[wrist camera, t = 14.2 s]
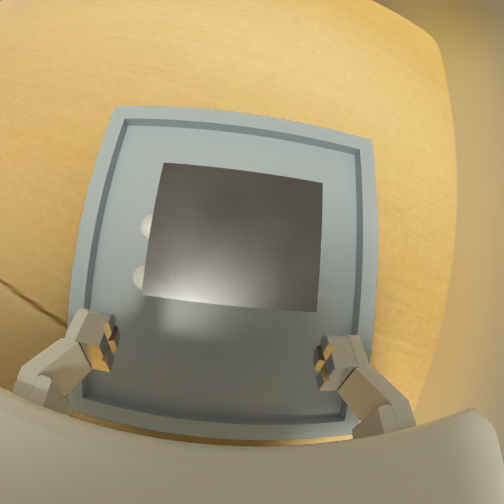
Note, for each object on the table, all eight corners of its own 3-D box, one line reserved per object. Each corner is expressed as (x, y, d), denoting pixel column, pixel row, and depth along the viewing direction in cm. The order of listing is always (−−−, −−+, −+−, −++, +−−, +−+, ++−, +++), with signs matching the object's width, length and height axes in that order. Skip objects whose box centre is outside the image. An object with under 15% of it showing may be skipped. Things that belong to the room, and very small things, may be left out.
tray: (82, 398, 16) (48, 423, 11) (123, 123, 20) (104, 82, 15) (342, 421, 19) (376, 450, 13) (358, 154, 22) (390, 121, 17)
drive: (182, 296, 17) (141, 294, 8) (190, 230, 18) (164, 156, 8) (261, 305, 18) (316, 312, 8) (267, 239, 19) (322, 177, 9)
